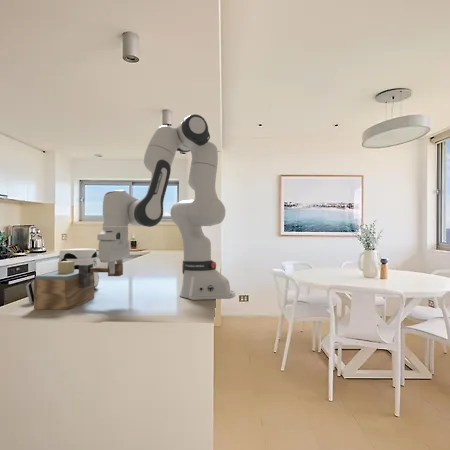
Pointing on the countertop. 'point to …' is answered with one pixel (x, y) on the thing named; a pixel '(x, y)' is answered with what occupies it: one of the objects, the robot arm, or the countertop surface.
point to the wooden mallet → (106, 269)
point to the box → (65, 291)
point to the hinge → (30, 291)
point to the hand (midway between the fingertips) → (115, 272)
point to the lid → (61, 272)
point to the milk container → (81, 259)
